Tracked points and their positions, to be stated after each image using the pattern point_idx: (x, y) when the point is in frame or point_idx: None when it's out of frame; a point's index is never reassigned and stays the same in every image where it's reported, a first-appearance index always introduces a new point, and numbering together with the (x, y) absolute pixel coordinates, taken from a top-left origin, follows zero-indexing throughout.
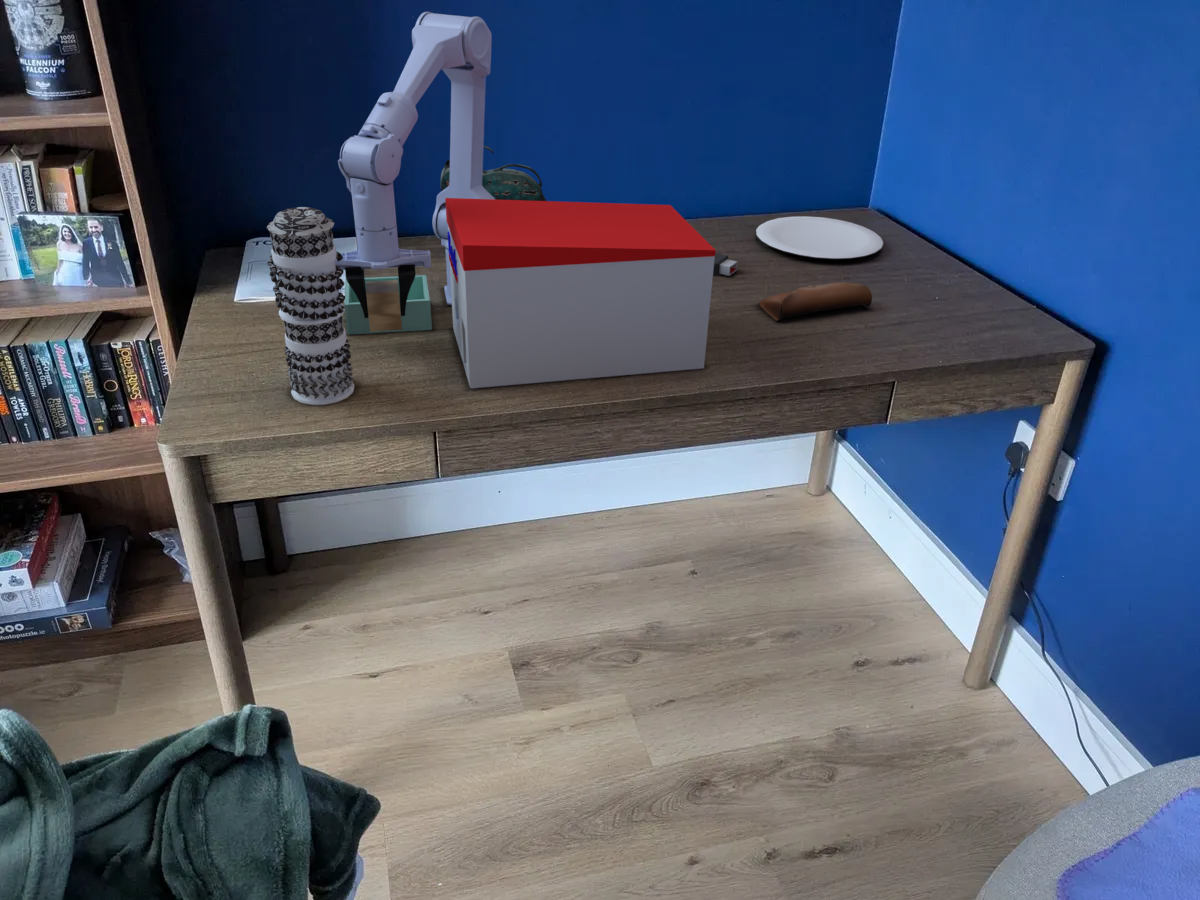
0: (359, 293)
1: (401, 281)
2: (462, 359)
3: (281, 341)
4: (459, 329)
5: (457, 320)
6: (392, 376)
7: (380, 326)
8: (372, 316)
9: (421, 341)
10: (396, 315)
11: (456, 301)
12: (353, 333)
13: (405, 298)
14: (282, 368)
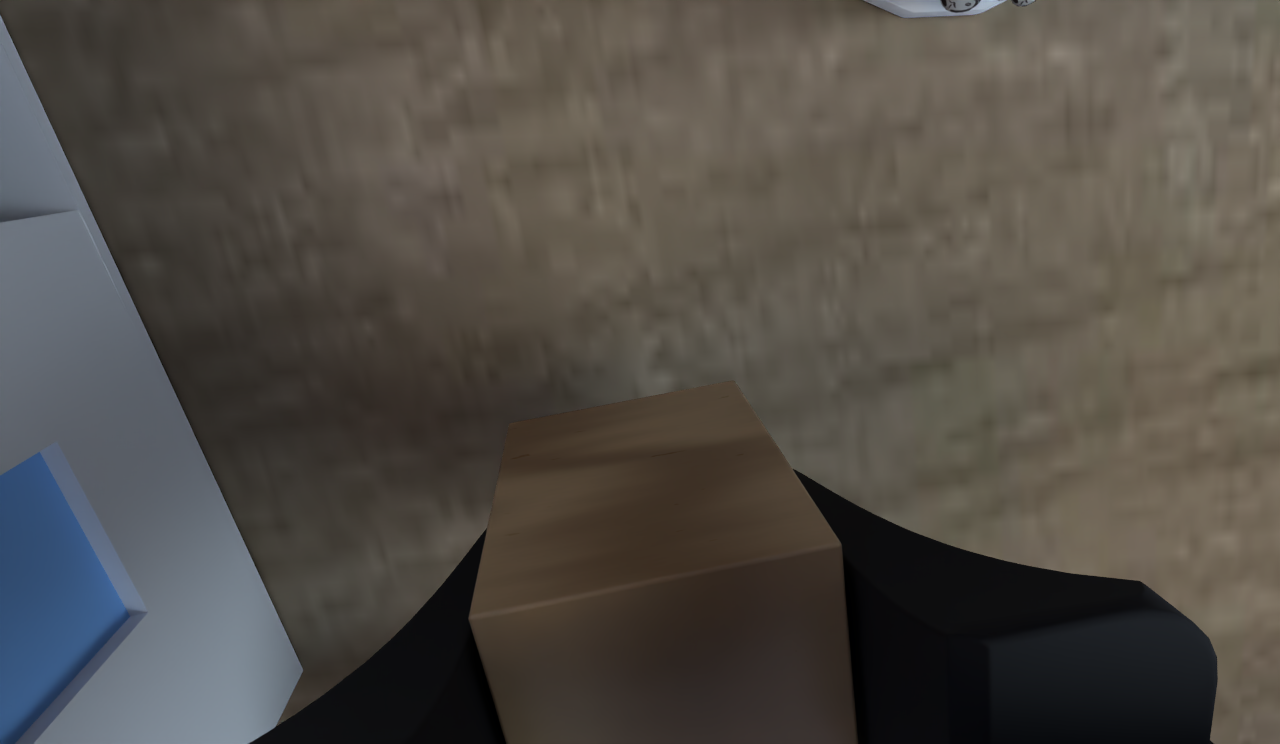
0: (914, 552)
1: (390, 725)
2: (103, 260)
3: (1190, 468)
4: (29, 420)
5: (128, 592)
6: (532, 28)
7: (664, 408)
8: (733, 431)
9: (451, 516)
10: (533, 469)
11: (41, 724)
12: None
13: (431, 608)
14: (1195, 137)
